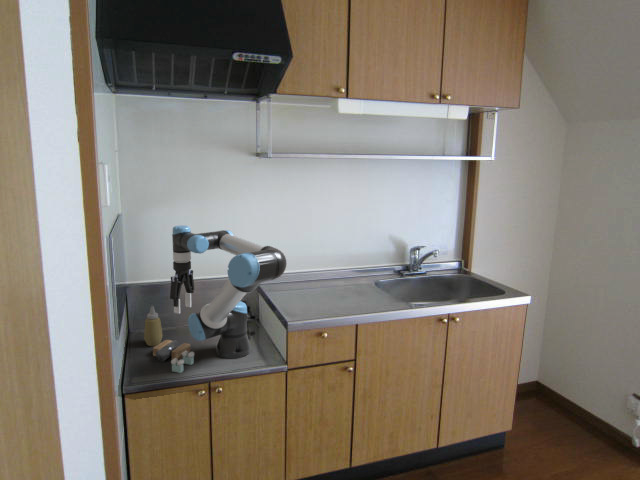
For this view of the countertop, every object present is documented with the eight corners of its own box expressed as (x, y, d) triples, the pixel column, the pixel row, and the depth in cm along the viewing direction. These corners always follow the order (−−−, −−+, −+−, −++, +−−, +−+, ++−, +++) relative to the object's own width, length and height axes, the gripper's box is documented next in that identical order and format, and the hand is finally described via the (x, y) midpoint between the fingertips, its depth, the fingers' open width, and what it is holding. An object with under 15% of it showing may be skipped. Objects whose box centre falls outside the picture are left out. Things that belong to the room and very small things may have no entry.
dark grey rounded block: (171, 349, 199) (171, 339, 198) (181, 351, 198) (181, 341, 197) (155, 360, 189) (155, 349, 188) (165, 362, 187) (165, 351, 186)
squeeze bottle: (156, 348, 199) (155, 310, 196) (140, 346, 201) (138, 308, 197) (166, 341, 207) (165, 304, 204) (150, 339, 209) (149, 302, 205)
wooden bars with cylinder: (190, 351, 198) (190, 344, 197) (177, 360, 189) (177, 352, 189) (166, 346, 202) (166, 339, 201) (153, 355, 193) (152, 348, 192)
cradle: (184, 361, 189) (184, 350, 188) (194, 363, 188) (194, 351, 187) (171, 371, 180) (170, 359, 179) (181, 373, 179) (181, 361, 178)
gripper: (188, 254, 207) (188, 301, 211) (159, 265, 187) (161, 316, 192) (202, 256, 204) (202, 303, 209) (175, 267, 185) (176, 319, 189)
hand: (182, 309), depth 200 cm, fingers open, 8 cm apart
